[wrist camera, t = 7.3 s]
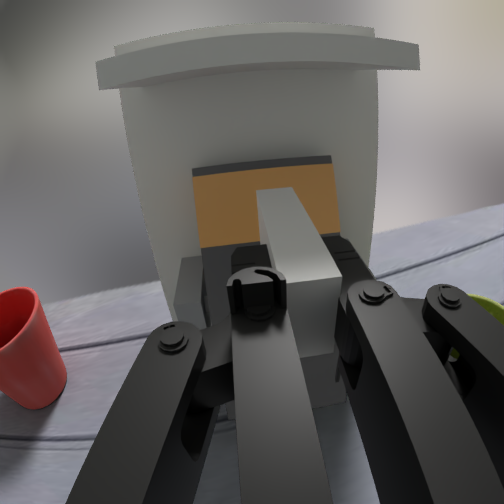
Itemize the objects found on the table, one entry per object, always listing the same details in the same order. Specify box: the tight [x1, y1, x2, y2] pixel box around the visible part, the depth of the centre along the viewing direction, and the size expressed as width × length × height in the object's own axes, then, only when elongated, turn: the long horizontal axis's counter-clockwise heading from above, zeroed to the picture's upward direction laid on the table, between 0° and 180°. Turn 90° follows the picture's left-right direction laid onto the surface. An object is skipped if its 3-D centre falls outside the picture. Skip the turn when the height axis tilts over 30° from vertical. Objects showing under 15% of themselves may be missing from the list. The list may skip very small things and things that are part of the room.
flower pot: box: [0, 287, 67, 409], centre depth 24 cm, size 11×11×10 cm
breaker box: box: [96, 22, 420, 330], centre depth 21 cm, size 16×13×28 cm
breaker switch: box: [192, 155, 346, 420], centre depth 19 cm, size 9×2×16 cm, turn 95°
